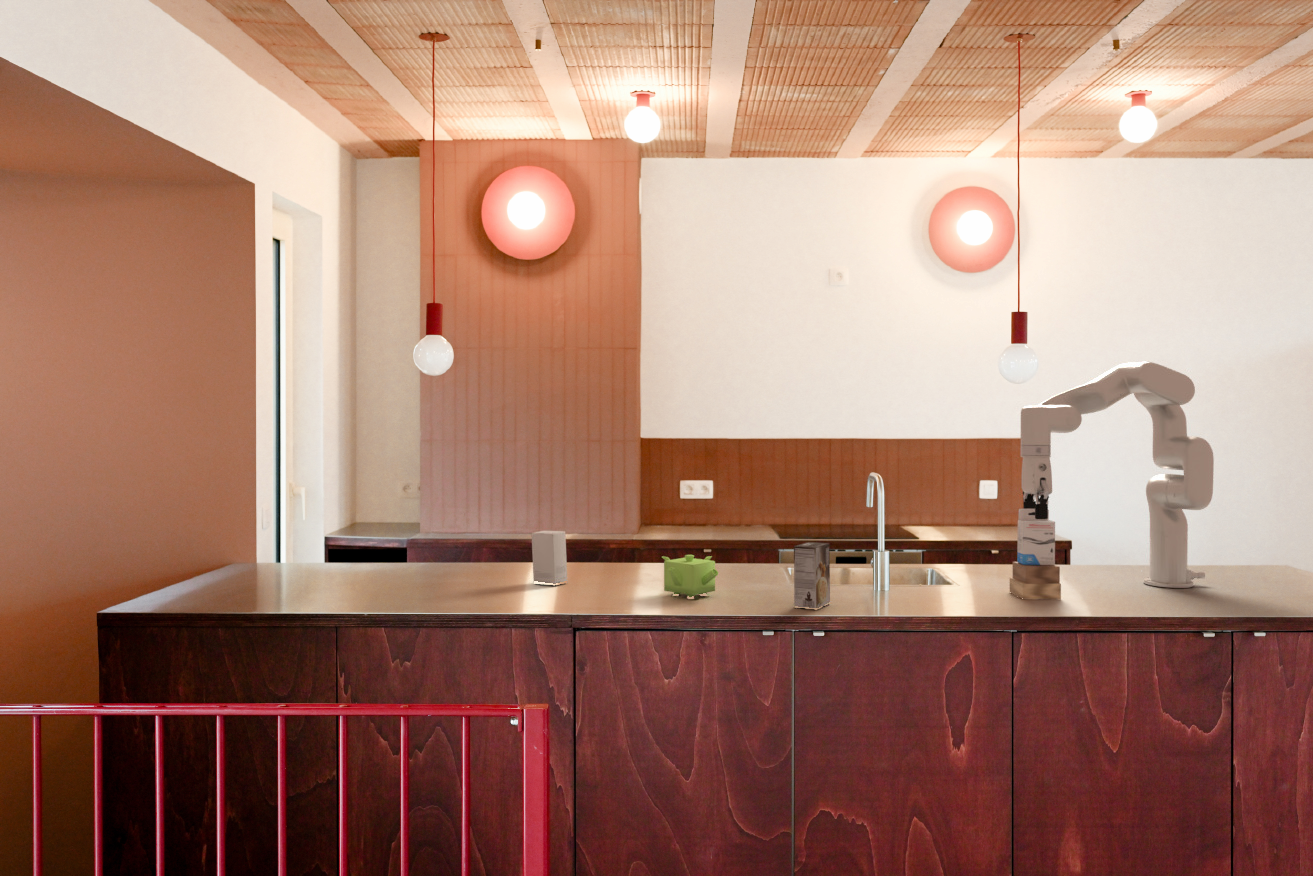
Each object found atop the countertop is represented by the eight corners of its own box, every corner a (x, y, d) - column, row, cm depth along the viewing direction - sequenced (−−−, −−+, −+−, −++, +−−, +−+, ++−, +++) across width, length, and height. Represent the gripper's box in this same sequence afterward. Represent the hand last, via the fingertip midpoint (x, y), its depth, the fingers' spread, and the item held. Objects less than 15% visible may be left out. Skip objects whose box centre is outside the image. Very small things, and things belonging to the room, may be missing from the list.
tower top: (1045, 577, 258) (1045, 561, 258) (1059, 583, 249) (1059, 566, 249) (1012, 578, 258) (1012, 561, 258) (1025, 583, 249) (1025, 566, 249)
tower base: (1046, 593, 259) (1046, 577, 259) (1060, 600, 249) (1060, 583, 249) (1009, 593, 259) (1009, 577, 259) (1022, 600, 249) (1022, 583, 249)
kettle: (661, 591, 265) (661, 551, 265) (711, 590, 266) (711, 550, 266) (665, 601, 250) (665, 559, 250) (718, 600, 251) (718, 558, 251)
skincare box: (567, 583, 278) (567, 531, 277) (553, 587, 272) (553, 533, 272) (545, 581, 282) (545, 529, 282) (531, 584, 277) (530, 531, 276)
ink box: (1022, 565, 251) (1022, 510, 251) (1016, 562, 256) (1017, 508, 256) (1055, 565, 251) (1055, 510, 251) (1049, 562, 256) (1049, 508, 256)
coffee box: (807, 602, 248) (807, 541, 247) (830, 604, 244) (830, 543, 244) (793, 608, 240) (793, 545, 239) (817, 611, 236) (816, 547, 236)
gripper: (1063, 453, 244) (1062, 521, 245) (1036, 450, 262) (1036, 514, 262) (1033, 453, 245) (1033, 521, 245) (1009, 450, 262) (1009, 514, 262)
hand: (1035, 517), depth 254 cm, fingers open, 7 cm apart
